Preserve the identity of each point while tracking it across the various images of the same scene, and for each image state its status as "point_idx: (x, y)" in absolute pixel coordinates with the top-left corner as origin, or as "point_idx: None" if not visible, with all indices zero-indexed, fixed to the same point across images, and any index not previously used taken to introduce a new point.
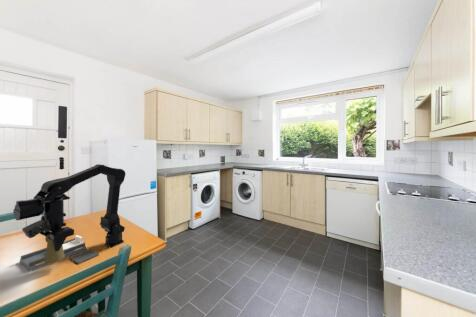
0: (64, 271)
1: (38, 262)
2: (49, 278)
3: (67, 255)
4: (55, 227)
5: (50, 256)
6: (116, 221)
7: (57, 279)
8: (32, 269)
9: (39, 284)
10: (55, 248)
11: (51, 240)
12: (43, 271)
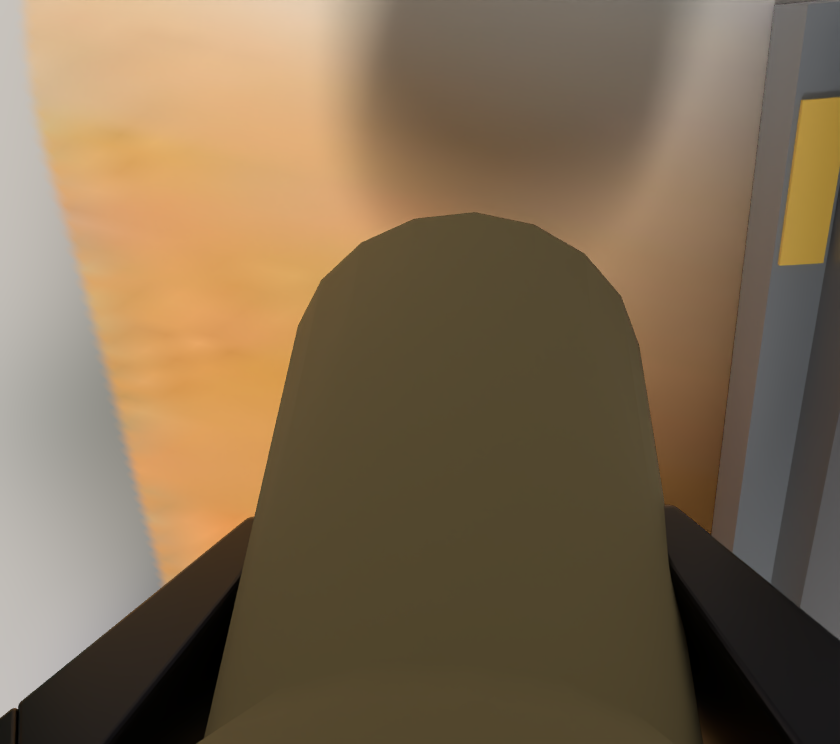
0: (255, 354)
1: None
2: (202, 161)
3: (720, 530)
4: None
5: (308, 355)
6: None
7: (77, 228)
8: (780, 36)
9: (114, 7)
10: (164, 588)
11: None
12: (545, 159)
